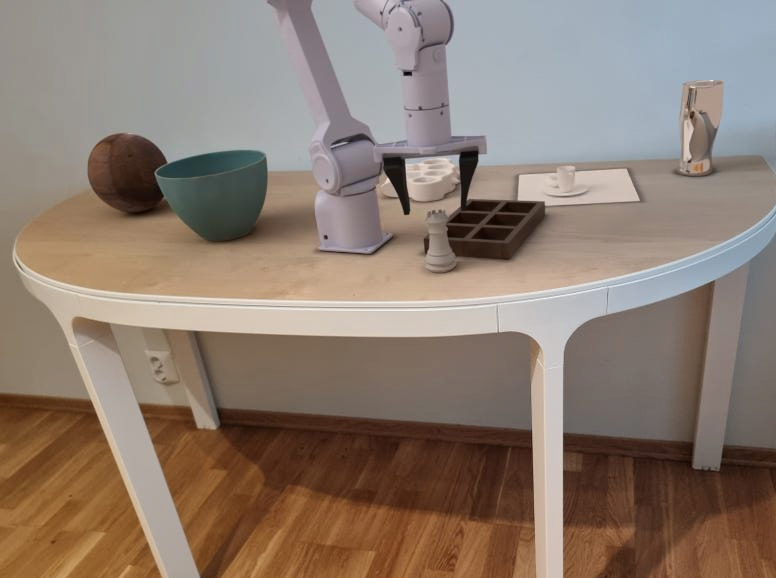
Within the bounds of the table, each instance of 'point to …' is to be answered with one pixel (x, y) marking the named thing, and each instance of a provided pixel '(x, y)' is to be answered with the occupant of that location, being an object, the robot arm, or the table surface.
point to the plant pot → (217, 191)
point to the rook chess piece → (439, 243)
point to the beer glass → (699, 125)
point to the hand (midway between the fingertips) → (435, 210)
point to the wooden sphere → (126, 172)
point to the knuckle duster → (427, 180)
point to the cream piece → (577, 187)
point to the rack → (491, 227)
